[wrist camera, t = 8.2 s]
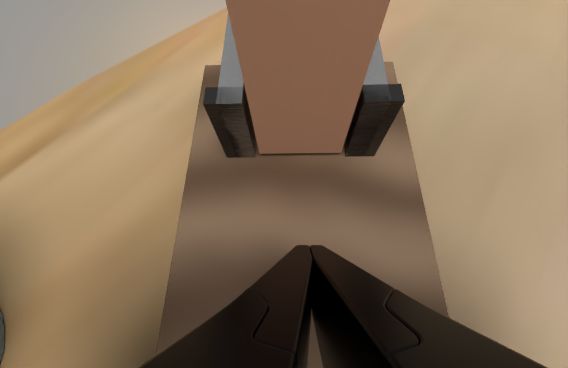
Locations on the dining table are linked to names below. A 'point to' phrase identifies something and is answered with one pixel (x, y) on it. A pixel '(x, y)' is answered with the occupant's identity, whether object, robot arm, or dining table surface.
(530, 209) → the dining table surface
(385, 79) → the grey block
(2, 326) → the grey embossed cylinder
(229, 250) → the walnut board
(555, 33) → the dining table surface
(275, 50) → the terracotta peg
